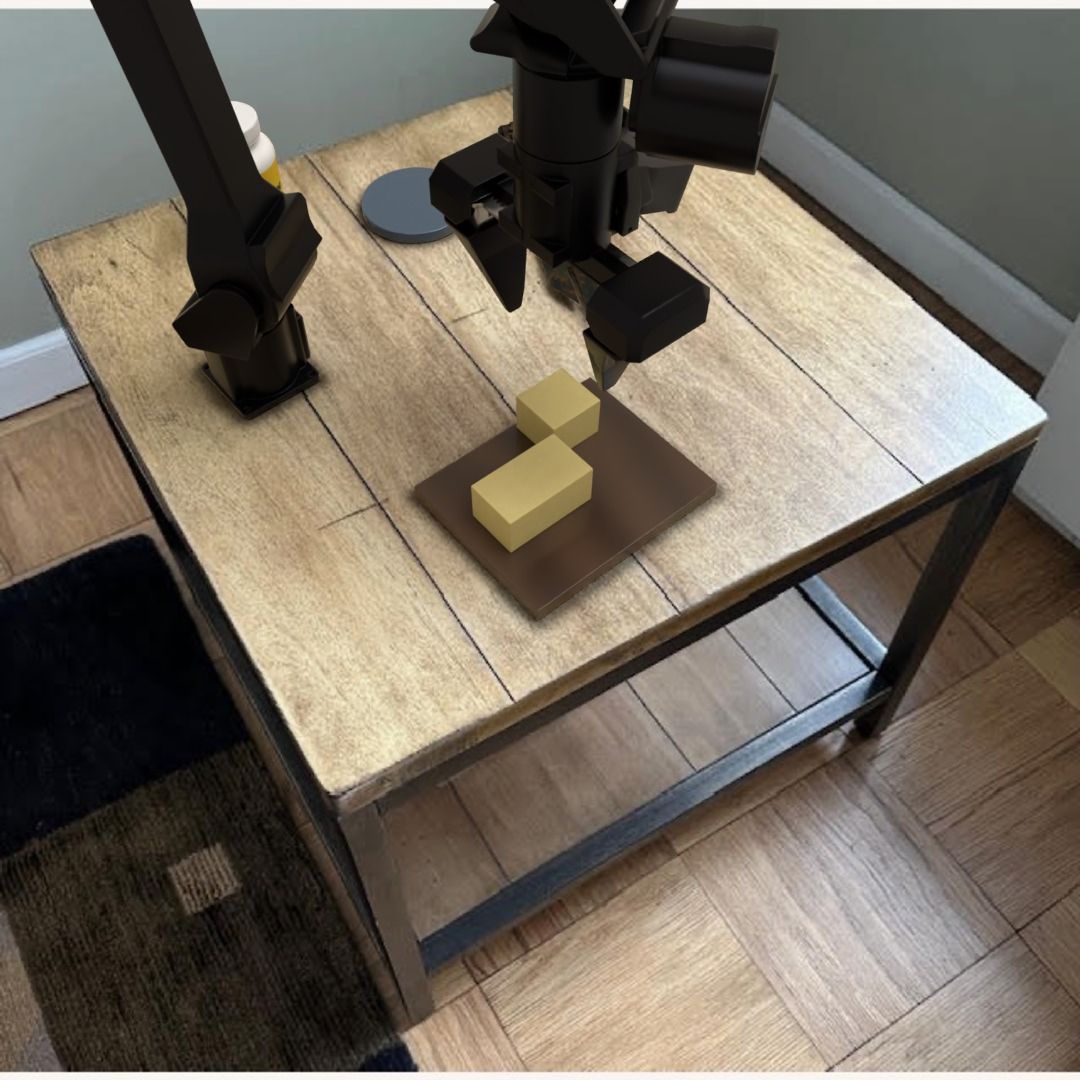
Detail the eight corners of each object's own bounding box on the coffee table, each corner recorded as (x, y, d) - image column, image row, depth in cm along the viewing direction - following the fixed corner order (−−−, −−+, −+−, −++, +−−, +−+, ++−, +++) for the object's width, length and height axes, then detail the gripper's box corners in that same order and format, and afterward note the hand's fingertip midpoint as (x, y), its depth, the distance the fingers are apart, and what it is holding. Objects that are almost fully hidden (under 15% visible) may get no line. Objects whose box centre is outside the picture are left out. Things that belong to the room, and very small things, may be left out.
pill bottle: (242, 273, 88) (210, 153, 79) (202, 235, 91) (166, 115, 82) (307, 240, 91) (282, 120, 82) (266, 204, 93) (238, 84, 84)
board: (537, 621, 69) (537, 611, 68) (415, 497, 75) (413, 486, 74) (715, 494, 75) (717, 483, 74) (589, 388, 81) (590, 376, 80)
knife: (608, 320, 85) (609, 307, 84) (526, 327, 85) (526, 314, 84) (562, 129, 100) (562, 116, 99) (491, 134, 99) (491, 120, 98)
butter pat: (552, 460, 75) (553, 429, 73) (516, 427, 77) (515, 395, 75) (598, 431, 77) (600, 400, 74) (561, 399, 79) (562, 367, 76)
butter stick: (510, 553, 71) (510, 524, 68) (472, 515, 73) (470, 485, 70) (591, 498, 74) (593, 468, 71) (552, 463, 75) (553, 432, 73)
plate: (404, 258, 89) (403, 248, 89) (341, 204, 93) (340, 194, 93) (490, 213, 93) (490, 203, 92) (426, 163, 97) (425, 153, 96)
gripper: (802, 156, 57) (751, 370, 69) (566, 8, 65) (559, 223, 78) (646, 245, 52) (622, 456, 65) (414, 75, 61) (433, 291, 73)
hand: (559, 346), depth 70 cm, fingers open, 9 cm apart
